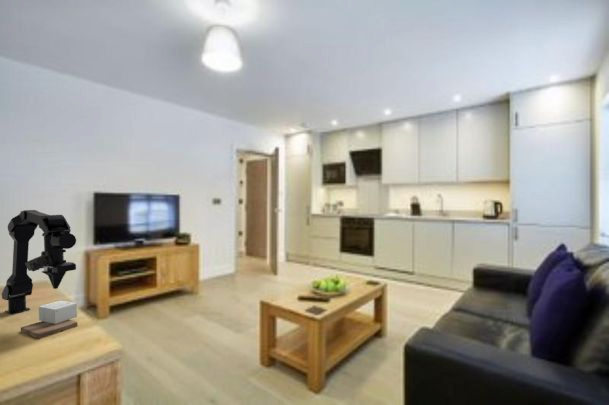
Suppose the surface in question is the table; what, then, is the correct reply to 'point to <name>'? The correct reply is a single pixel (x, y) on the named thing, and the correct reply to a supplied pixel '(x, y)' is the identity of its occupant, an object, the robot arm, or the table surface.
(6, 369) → the table surface
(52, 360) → the table surface
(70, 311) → the small box
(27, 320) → the table surface
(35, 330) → the floor panel
